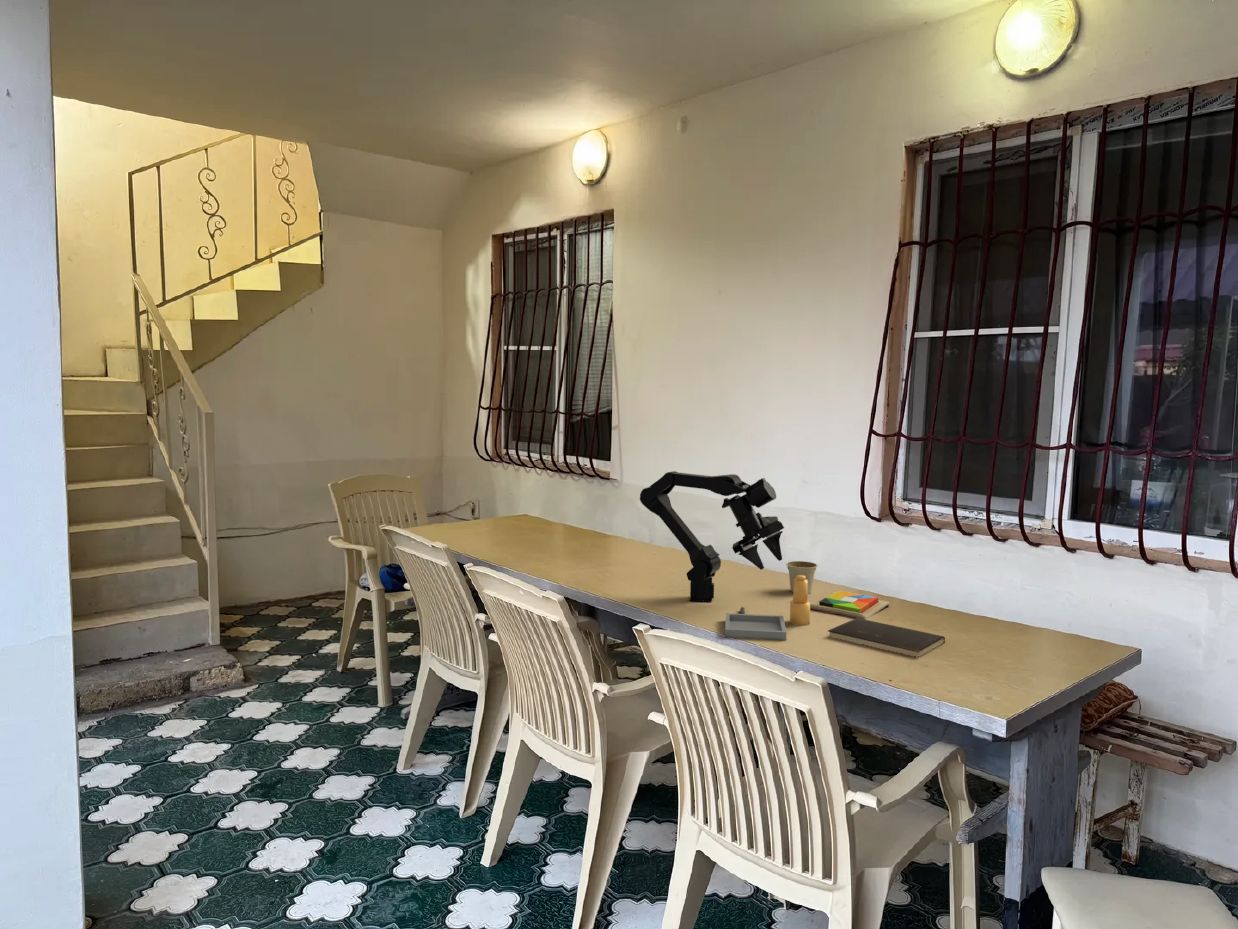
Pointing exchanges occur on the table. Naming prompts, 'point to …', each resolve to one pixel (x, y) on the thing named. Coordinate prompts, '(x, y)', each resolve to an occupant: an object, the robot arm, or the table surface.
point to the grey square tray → (755, 626)
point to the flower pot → (801, 572)
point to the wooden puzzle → (850, 604)
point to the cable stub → (742, 610)
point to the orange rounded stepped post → (800, 602)
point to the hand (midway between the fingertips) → (771, 564)
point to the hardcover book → (887, 637)
